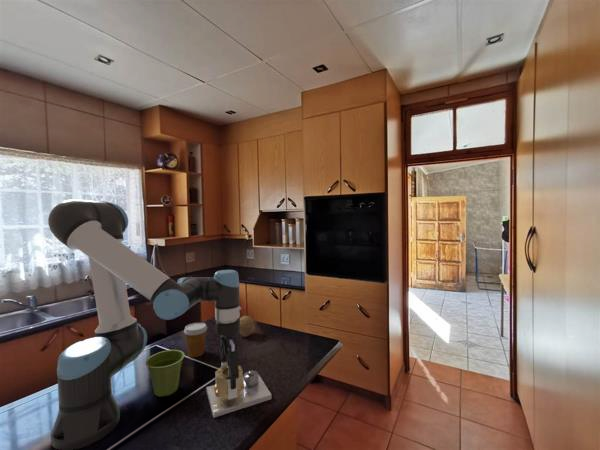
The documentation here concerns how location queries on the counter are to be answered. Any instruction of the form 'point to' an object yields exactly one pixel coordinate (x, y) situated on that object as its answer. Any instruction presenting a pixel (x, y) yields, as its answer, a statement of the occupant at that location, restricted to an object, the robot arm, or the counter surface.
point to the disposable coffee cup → (195, 338)
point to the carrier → (249, 396)
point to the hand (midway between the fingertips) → (229, 389)
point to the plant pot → (165, 371)
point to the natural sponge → (246, 326)
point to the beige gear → (226, 382)
